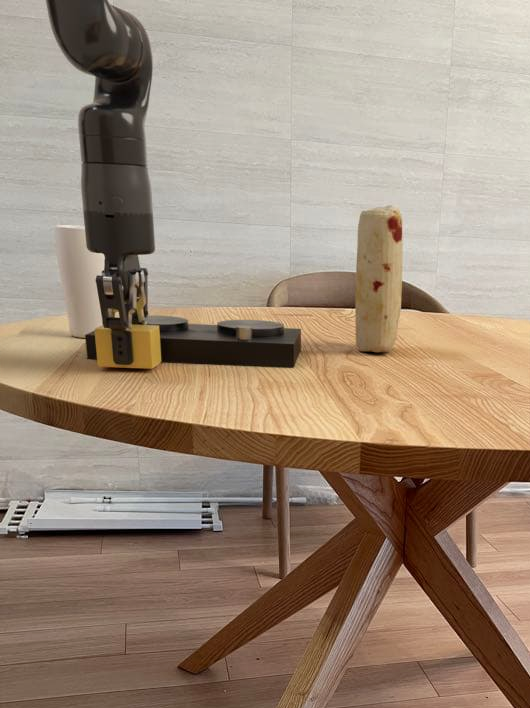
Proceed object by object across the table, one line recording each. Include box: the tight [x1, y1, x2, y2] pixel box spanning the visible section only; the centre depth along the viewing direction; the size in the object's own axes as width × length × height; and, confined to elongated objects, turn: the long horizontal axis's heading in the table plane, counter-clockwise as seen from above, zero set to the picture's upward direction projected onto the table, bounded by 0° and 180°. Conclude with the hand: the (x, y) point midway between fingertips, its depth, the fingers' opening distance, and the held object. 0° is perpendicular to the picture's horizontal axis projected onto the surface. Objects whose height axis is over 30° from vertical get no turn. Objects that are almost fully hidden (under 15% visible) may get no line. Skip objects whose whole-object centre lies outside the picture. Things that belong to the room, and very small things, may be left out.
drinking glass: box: [54, 224, 105, 339], centre depth 118 cm, size 7×7×15 cm
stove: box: [84, 314, 302, 369], centre depth 111 cm, size 26×14×5 cm, turn 93°
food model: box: [354, 204, 404, 353], centre depth 118 cm, size 10×7×20 cm
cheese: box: [95, 324, 162, 370], centre depth 99 cm, size 6×5×4 cm
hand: (129, 359), depth 100 cm, fingers closed on cheese, 4 cm apart
